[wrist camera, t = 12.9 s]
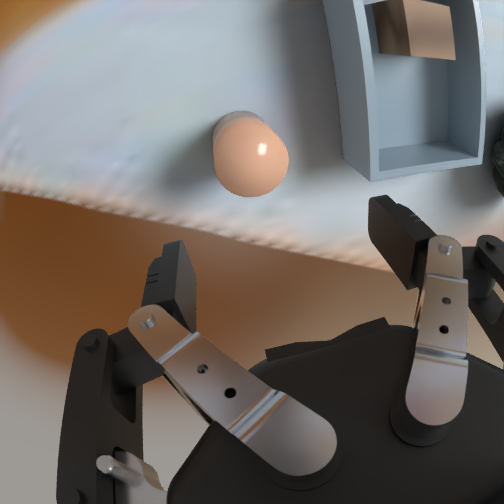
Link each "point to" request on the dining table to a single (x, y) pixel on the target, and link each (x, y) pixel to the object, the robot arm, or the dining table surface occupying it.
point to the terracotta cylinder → (248, 155)
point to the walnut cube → (414, 28)
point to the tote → (407, 95)
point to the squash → (498, 163)
